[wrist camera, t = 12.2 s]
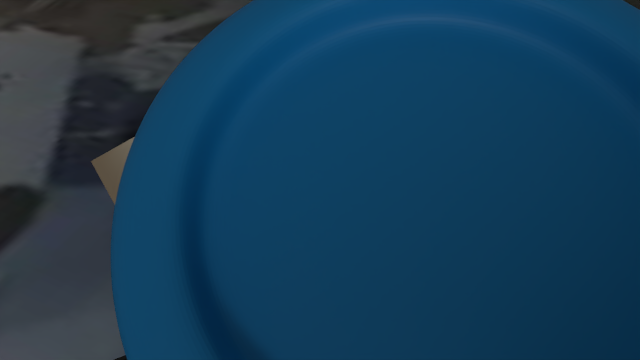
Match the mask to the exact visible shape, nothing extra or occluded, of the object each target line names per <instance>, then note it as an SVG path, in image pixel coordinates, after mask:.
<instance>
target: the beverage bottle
mask: <svg viewBox="0 0 640 360" xmlns="http://www.w3.org/2000/svg"><path fill="white" fill-rule="evenodd" d="M111 278H112V290H113V298H114V305H115V311H116V317H117V322H118V327H119V331H120V336H121V340H122V343H123V347H124V351H125V354H126V357H127V360H640V10H639V9H637V8H635V7H634V6H632V5H630V4H628V3H626V2H625V1H623V0H253V1H252V2H250V3H248V4H247V5H245V6H244V7H242V8H241V9H239V10H238V11H237V12H235V13H234V14H232V15H231V16H230V17H228V18H227V19H226V20H224V21H223V22H222V23H221V24H219V25H218V26H217V27H216V28H215V29H214V30H212V31H211V32H210V33H209V34H208V35H207V36H206V37H205V38H204V39H202V40H201V41H200V42H199V43H198V44H197V45H196V46H195V47H194V48H193V49H192V50H191V52H190V53H189V54H188V55H187V56H186V57H185V58H184V59H183V60H182V62H181V63H180V64H179V65H178V66H177V68H176V69H175V70H174V71H173V73H172V74H171V75H170V77H169V78H168V79H167V81H166V82H165V83H164V85H163V86H162V88H161V89H160V91H159V92H158V94H157V95H156V97H155V99H154V100H153V102H152V104H151V105H150V107H149V109H148V111H147V113H146V114H145V116H144V118H143V120H142V122H141V124H140V126H139V129H138V131H137V133H136V135H135V138H134V140H133V143H132V145H131V148H130V150H129V153H128V156H127V159H126V162H125V165H124V169H123V172H122V176H121V179H120V183H119V188H118V192H117V197H116V202H115V208H114V215H113V224H112V235H111Z"/></svg>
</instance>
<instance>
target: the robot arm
mask: <svg viewBox="0 0 640 360" xmlns="http://www.w3.org/2000/svg"><path fill="white" fill-rule="evenodd" d="M115 360H127V357H126V355H125V356H122V357H120V358H117V359H115Z"/></svg>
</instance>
